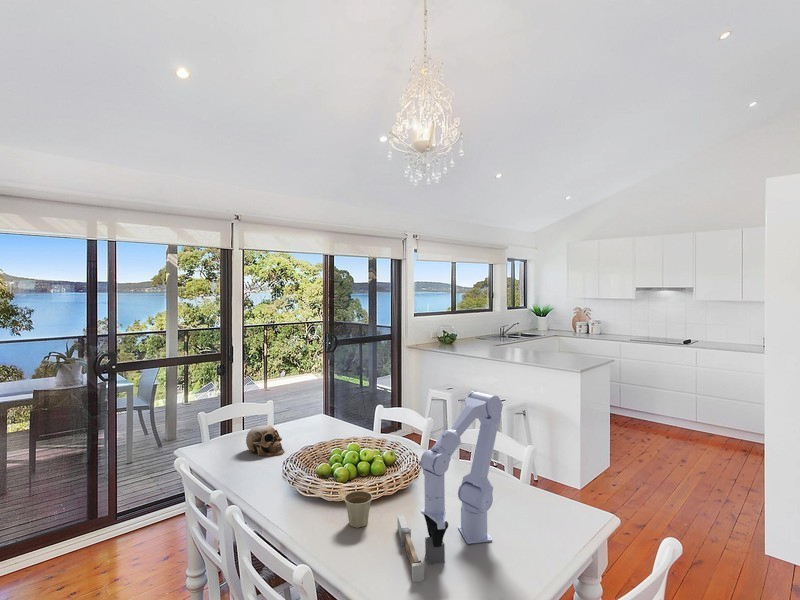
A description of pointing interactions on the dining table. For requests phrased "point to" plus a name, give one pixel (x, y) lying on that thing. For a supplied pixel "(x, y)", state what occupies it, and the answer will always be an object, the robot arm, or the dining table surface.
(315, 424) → the dining table surface
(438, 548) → the block
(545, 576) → the dining table surface
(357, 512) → the flower pot
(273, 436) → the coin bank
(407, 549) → the door
